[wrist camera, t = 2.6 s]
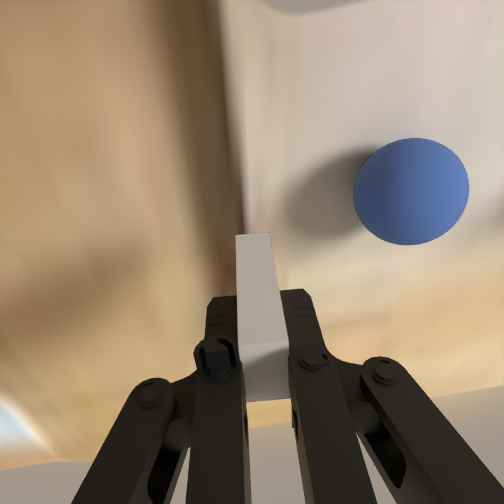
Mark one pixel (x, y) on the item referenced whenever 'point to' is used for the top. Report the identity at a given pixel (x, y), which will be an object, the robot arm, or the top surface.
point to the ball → (411, 191)
